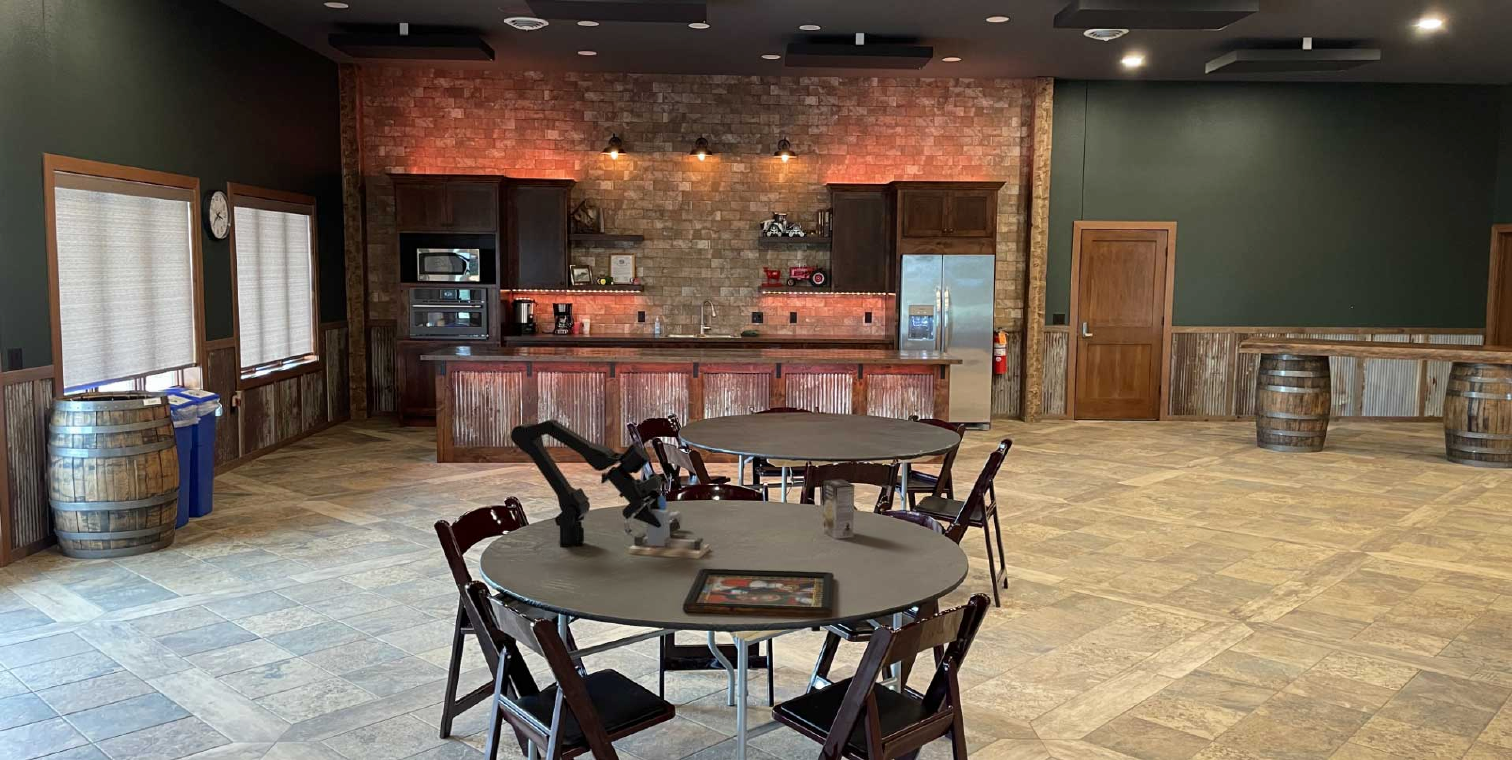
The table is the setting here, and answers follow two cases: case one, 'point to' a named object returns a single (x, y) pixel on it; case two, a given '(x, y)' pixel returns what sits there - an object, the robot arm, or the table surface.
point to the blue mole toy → (662, 503)
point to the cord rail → (670, 547)
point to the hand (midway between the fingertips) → (663, 524)
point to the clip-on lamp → (674, 522)
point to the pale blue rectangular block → (659, 534)
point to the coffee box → (838, 508)
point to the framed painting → (761, 592)
